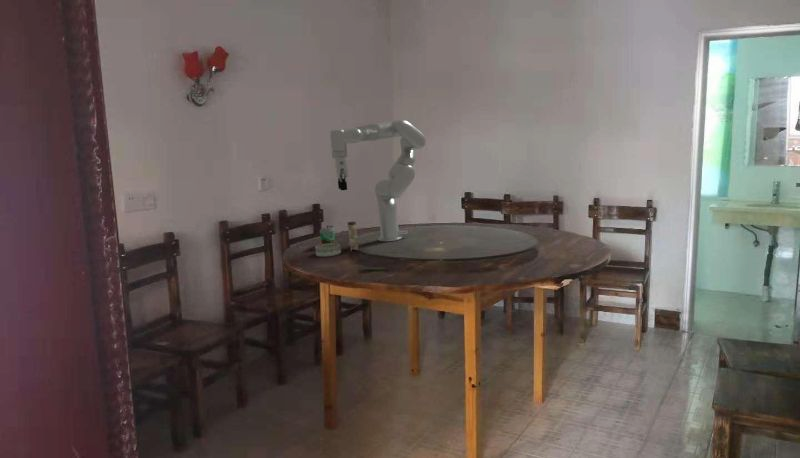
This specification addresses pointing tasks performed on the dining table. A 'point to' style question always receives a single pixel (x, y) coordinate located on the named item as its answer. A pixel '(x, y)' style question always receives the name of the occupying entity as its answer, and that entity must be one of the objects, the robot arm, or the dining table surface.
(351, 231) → the peg
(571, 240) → the dining table surface
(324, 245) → the bead
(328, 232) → the food container
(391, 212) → the robot arm
